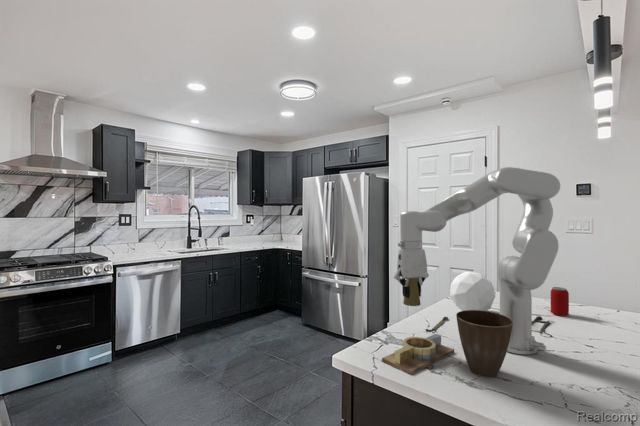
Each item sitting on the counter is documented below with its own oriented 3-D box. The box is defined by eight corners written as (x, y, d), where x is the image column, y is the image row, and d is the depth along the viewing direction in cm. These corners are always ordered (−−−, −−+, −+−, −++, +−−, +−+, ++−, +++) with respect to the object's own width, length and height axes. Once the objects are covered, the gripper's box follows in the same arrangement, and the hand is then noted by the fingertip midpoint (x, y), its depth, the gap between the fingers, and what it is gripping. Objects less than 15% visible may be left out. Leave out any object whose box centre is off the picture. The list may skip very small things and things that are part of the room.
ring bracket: (425, 340, 118) (425, 330, 118) (451, 349, 110) (451, 338, 110) (384, 358, 104) (384, 347, 104) (411, 369, 96) (411, 357, 96)
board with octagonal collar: (425, 342, 119) (425, 339, 119) (454, 352, 110) (454, 349, 110) (381, 361, 104) (381, 358, 104) (411, 374, 95) (411, 371, 95)
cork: (407, 306, 114) (406, 275, 114) (400, 301, 120) (400, 272, 120) (423, 305, 115) (423, 274, 115) (416, 301, 121) (415, 271, 121)
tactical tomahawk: (441, 337, 126) (442, 335, 126) (425, 332, 130) (425, 329, 130) (458, 322, 142) (459, 320, 142) (443, 318, 146) (443, 315, 146)
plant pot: (525, 380, 92) (525, 323, 92) (482, 388, 87) (482, 328, 87) (485, 357, 106) (484, 308, 106) (445, 363, 102) (445, 312, 102)
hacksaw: (537, 318, 146) (537, 315, 146) (565, 324, 138) (565, 320, 138) (519, 331, 130) (519, 328, 130) (550, 339, 122) (550, 335, 122)
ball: (462, 328, 152) (435, 293, 155) (474, 304, 166) (449, 272, 169) (499, 317, 139) (469, 278, 141) (508, 292, 153) (480, 257, 156)
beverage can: (568, 313, 152) (567, 287, 152) (569, 317, 146) (569, 290, 146) (550, 311, 155) (550, 286, 155) (551, 315, 149) (550, 288, 149)
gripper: (396, 247, 112) (397, 301, 112) (437, 245, 117) (438, 296, 117) (385, 245, 119) (386, 296, 119) (424, 243, 124) (424, 292, 124)
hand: (411, 295), depth 118 cm, fingers closed on cork, 4 cm apart
